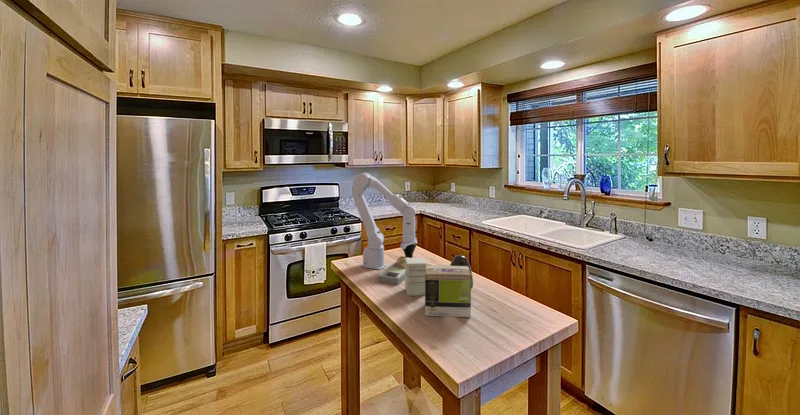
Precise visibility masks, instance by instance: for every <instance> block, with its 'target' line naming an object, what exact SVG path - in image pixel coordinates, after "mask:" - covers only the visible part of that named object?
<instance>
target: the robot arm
mask: <svg viewBox="0 0 800 415" xmlns="http://www.w3.org/2000/svg"><path fill="white" fill-rule="evenodd" d="M367 189H373V190H374V189H375V190H376V191H377V192H379V193H380V194H381V195H382V196H383V197H385V198H386V199H387V200H388V203H389V205H390V206H392V207H393V208H394V209H395V210H396V211H397V212H399V213H401V215H402V217H403V218H402V219H403V220H402V242H401V243H400V249H402V250H403V253H404V255H405V256H404V257H409V258H413V255H414V252H415V249H416V247H417V245H416V244H418V240H417V239H418V238H417V237H416V213H417V210H416V209H417V208H416V207H415V206H414V205H413V204H411V203H410V202H408V201H407V200H405V199H404V198H403V195H402V194H398V193H397V194H396V193H395V194H394V193H393V192H392V191H390V190H389V189H388V188H387V187H386V186H385V185H384V184H383V183H382V182H381V181H379V180H378V179H377V178H376V177H375V176H373V175H371V174H370V173H369V172H363V173H359V174H357V175H356V176H355V178H354V179H353V180H352V189H351V197H352V199H353V202H354V204H355V206H356V208H357V212H358V214H359V216H360V218H361V221H362V224H363V226H364V229H365V230H366V237H367V246H365V247H364V249H363V252H362V268H366V269H371V270H372V269H373V270H383V268H386V267H387V266H389V265H388V263H385V245H383V244H384V241H385V236H384V234H383V233H382V232H381V231H380V229H379V227H378V226H377V224H376V221H375V219H374V217H373V214H372V212H371V209H370V208H369V207H370V206H369V205H368V203H367V200H366V198H365V192H366V190H367Z"/></svg>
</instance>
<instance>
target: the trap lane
mask: <svg viewBox="0 0 800 415" xmlns="http://www.w3.org/2000/svg"><path fill="white" fill-rule="evenodd" d="M404 281H405V268H398V267H397V261H395V262H394V263H392V264H390V265H388V267H387V266H386V267H385V268H384V269H382V270H381V271H380V272H378V282H379V283H380V282H381V283H385V284H392V285H397V286H398V285H400V284H401V283H403V282H404Z"/></svg>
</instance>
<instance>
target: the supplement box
mask: <svg viewBox="0 0 800 415" xmlns="http://www.w3.org/2000/svg"><path fill="white" fill-rule="evenodd" d="M426 265H427V262H426V260H425V258H424V257H412V258H405V280H404V281H405V282H404V289H405V291H406V292H405V293H406V295H407V296H408V297H409V296H425V270H426Z"/></svg>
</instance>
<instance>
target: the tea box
mask: <svg viewBox="0 0 800 415" xmlns="http://www.w3.org/2000/svg"><path fill="white" fill-rule="evenodd" d="M471 295H472V289H471V274H470V271H469V267H468V266H450V265H437V264H436V265H431V264H430V265H429V264H428V265H427V264H426V270H425V295H424V309H425V310H424V315H425V316H426V317H427V316H429V317H431V316H432V317H454V318H471V312H472V311H471V310H472V305H471V304H472V296H471Z"/></svg>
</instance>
